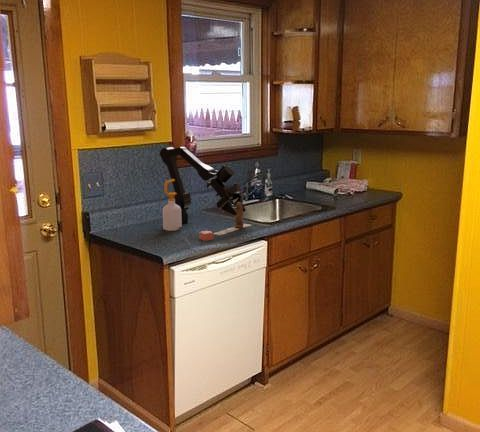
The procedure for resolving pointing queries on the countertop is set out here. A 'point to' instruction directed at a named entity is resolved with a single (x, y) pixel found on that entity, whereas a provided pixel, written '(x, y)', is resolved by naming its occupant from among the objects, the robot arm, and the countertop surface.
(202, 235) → the red cube
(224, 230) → the track board
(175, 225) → the soap bottle
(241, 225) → the pawn
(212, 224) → the countertop surface
